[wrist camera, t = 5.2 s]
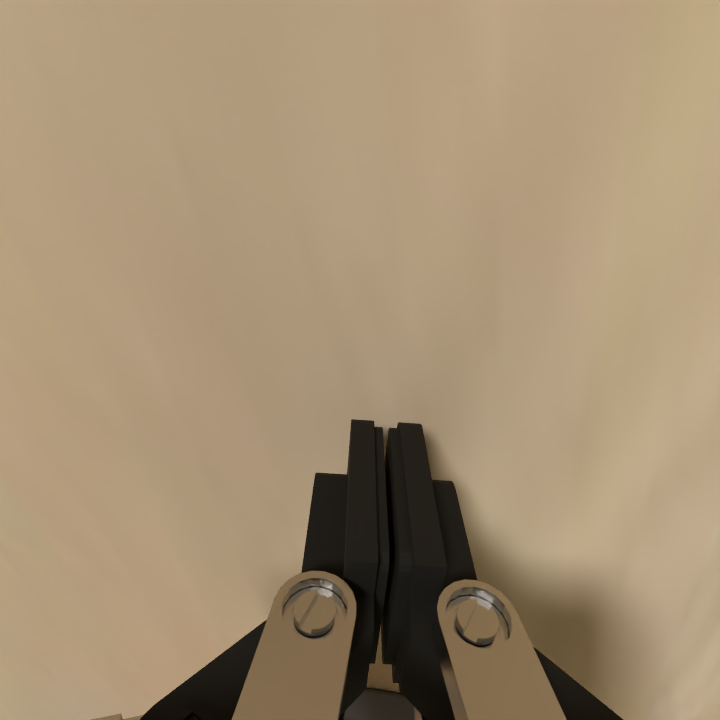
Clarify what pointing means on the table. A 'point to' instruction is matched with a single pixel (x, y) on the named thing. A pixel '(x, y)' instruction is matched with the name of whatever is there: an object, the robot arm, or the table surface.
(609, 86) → the table surface
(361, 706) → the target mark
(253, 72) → the table surface
